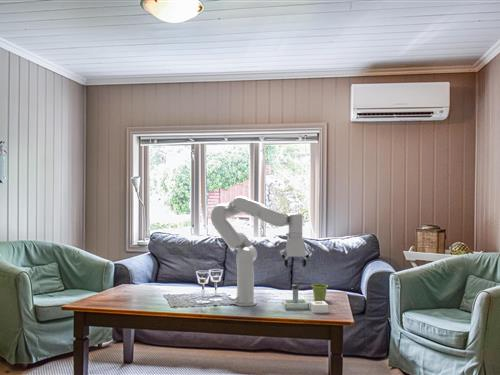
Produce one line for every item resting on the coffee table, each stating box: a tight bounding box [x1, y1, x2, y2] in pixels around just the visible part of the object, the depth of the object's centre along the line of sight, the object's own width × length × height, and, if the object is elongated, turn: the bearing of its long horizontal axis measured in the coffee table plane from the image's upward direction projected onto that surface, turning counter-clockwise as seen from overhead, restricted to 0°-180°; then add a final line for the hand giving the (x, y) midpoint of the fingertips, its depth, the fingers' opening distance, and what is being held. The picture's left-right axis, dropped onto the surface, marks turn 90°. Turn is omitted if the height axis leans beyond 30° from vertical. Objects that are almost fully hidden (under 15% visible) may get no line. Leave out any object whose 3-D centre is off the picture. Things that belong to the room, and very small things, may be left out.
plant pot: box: [311, 283, 328, 302], centre depth 238 cm, size 9×9×9 cm
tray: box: [281, 298, 310, 311], centre depth 223 cm, size 13×10×3 cm
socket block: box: [309, 300, 329, 314], centre depth 215 cm, size 8×8×4 cm
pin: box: [291, 283, 300, 303], centre depth 223 cm, size 4×4×11 cm
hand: (295, 266), depth 223 cm, fingers open, 9 cm apart
